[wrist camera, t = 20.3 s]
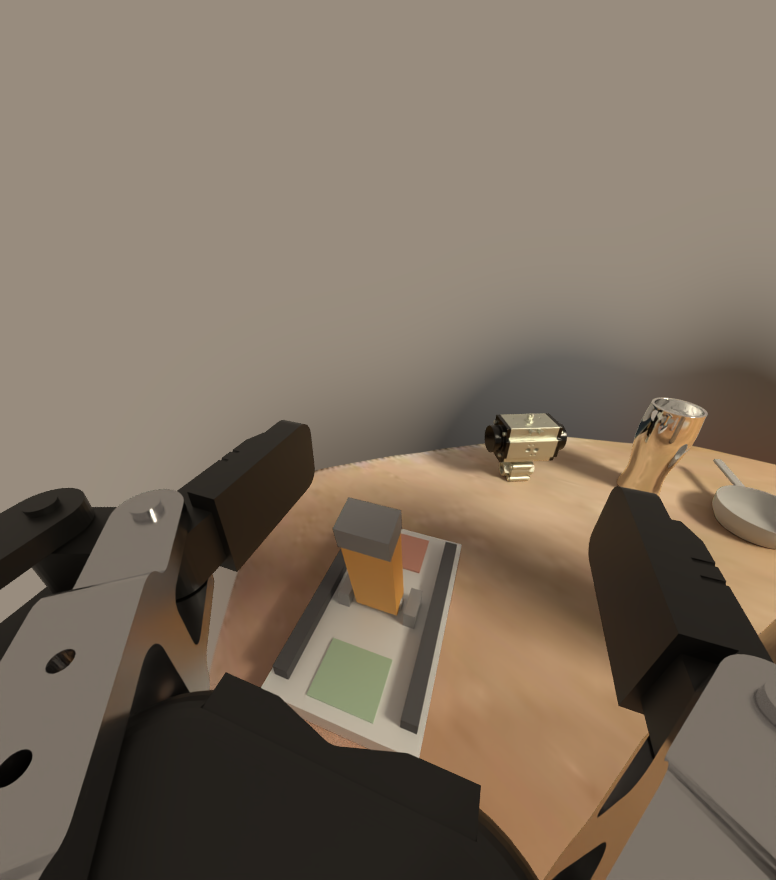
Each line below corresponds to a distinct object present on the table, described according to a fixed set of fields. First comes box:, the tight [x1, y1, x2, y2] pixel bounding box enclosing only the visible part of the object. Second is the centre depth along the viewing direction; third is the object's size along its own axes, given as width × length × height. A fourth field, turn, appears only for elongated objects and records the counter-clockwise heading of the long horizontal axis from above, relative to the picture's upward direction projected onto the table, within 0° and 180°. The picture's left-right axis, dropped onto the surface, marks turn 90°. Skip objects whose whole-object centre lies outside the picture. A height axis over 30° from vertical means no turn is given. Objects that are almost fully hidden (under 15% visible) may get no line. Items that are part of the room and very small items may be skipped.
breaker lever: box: [333, 497, 404, 616], centre depth 31 cm, size 3×5×15 cm, turn 71°
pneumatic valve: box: [485, 413, 567, 481], centre depth 56 cm, size 6×12×12 cm, turn 95°
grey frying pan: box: [712, 459, 776, 549], centre depth 52 cm, size 11×18×4 cm, turn 166°
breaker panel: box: [261, 529, 462, 758], centre depth 36 cm, size 22×14×4 cm, turn 161°
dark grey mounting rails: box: [273, 542, 457, 734], centre depth 36 cm, size 19×13×1 cm
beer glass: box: [617, 398, 707, 496], centre depth 53 cm, size 7×7×15 cm
